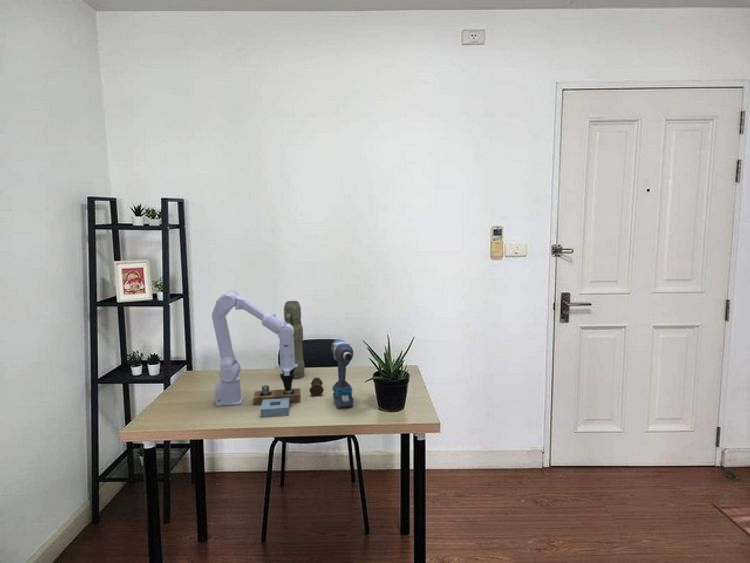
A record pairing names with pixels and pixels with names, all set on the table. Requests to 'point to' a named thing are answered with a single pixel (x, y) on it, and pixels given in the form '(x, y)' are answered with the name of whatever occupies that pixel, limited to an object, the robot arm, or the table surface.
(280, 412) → the socket block
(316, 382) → the bolt
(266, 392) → the black pin
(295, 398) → the rack
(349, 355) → the impact wrench
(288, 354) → the robot arm
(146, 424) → the table surface
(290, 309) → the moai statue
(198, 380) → the table surface
